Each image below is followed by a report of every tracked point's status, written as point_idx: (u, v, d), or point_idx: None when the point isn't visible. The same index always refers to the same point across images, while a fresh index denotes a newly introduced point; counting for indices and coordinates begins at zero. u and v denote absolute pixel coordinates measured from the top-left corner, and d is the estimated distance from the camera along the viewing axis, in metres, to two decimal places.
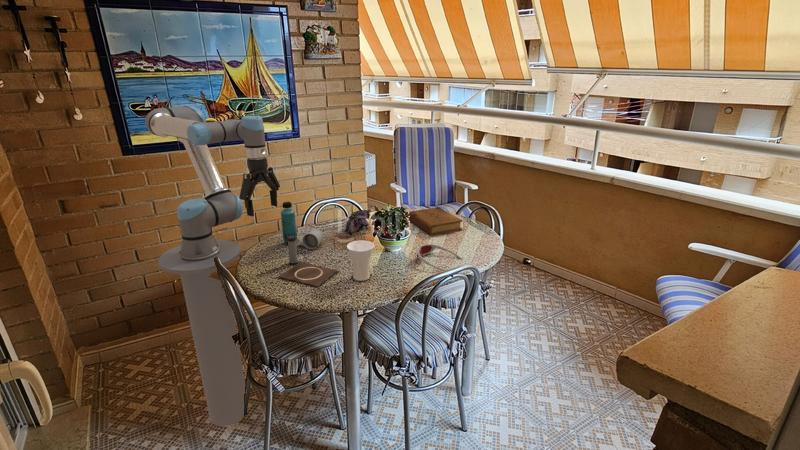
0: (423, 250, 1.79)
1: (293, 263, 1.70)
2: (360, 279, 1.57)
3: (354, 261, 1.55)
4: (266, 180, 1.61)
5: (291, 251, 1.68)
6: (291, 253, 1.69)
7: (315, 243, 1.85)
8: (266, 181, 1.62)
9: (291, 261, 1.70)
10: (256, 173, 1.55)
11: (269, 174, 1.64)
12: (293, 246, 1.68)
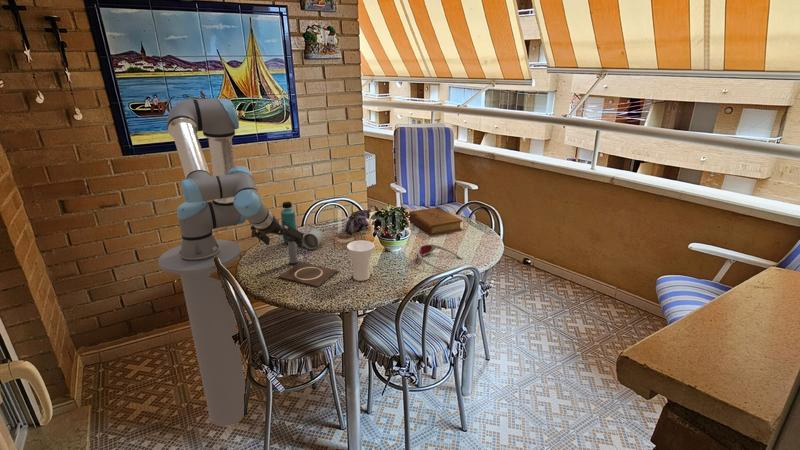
0: (423, 250, 1.79)
1: (293, 263, 1.70)
2: (360, 279, 1.57)
3: (354, 261, 1.55)
4: None
5: (291, 251, 1.68)
6: (291, 253, 1.69)
7: (315, 243, 1.85)
8: None
9: (291, 261, 1.70)
10: None
11: None
12: (293, 246, 1.68)
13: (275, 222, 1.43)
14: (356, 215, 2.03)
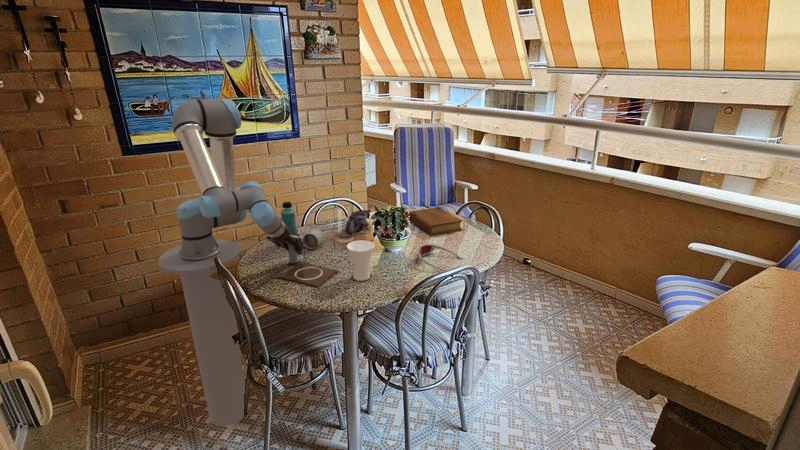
0: (423, 250, 1.79)
1: (293, 263, 1.70)
2: (360, 279, 1.57)
3: (354, 261, 1.55)
4: None
5: (291, 251, 1.68)
6: (291, 253, 1.69)
7: (315, 243, 1.85)
8: None
9: (291, 261, 1.70)
10: None
11: None
12: None
13: (287, 231, 1.54)
14: (356, 215, 2.03)
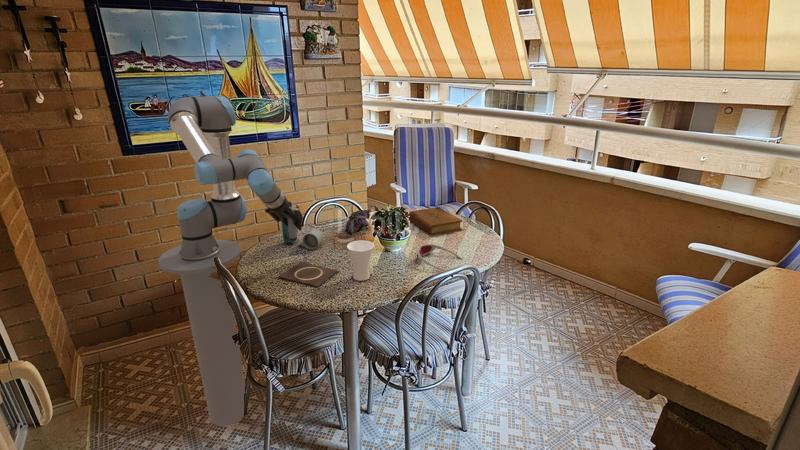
0: (423, 250, 1.79)
1: (293, 238, 1.64)
2: (360, 279, 1.57)
3: (354, 261, 1.55)
4: None
5: (291, 225, 1.62)
6: (290, 228, 1.63)
7: (315, 243, 1.85)
8: None
9: (290, 236, 1.64)
10: None
11: None
12: (293, 221, 1.62)
13: (286, 202, 1.49)
14: (356, 215, 2.03)
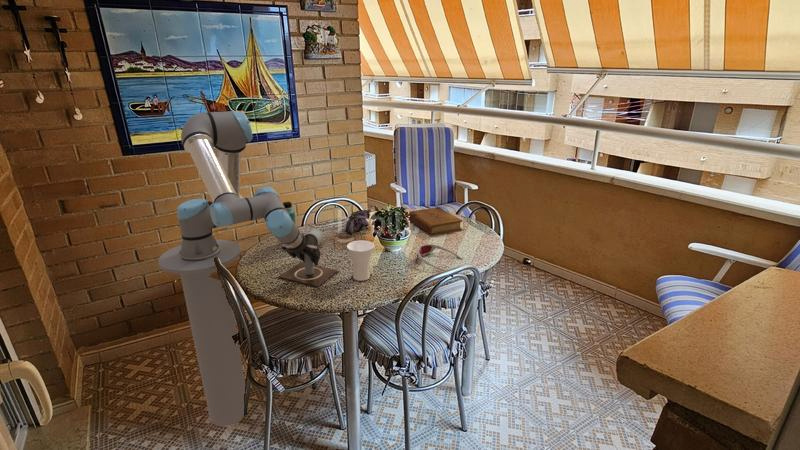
0: (423, 250, 1.79)
1: (309, 275, 1.57)
2: (360, 279, 1.57)
3: (354, 261, 1.55)
4: None
5: (308, 262, 1.55)
6: (307, 264, 1.56)
7: (315, 243, 1.85)
8: None
9: (307, 272, 1.57)
10: None
11: None
12: None
13: (304, 241, 1.42)
14: (356, 215, 2.03)
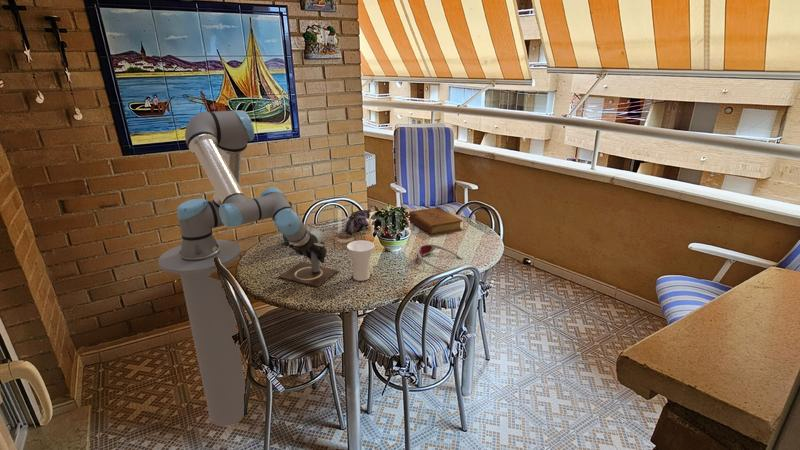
0: (423, 250, 1.79)
1: (315, 272, 1.61)
2: (360, 279, 1.57)
3: (354, 261, 1.55)
4: None
5: (314, 259, 1.59)
6: (313, 261, 1.59)
7: None
8: None
9: (313, 270, 1.61)
10: None
11: None
12: (316, 255, 1.59)
13: (311, 239, 1.45)
14: (356, 215, 2.03)
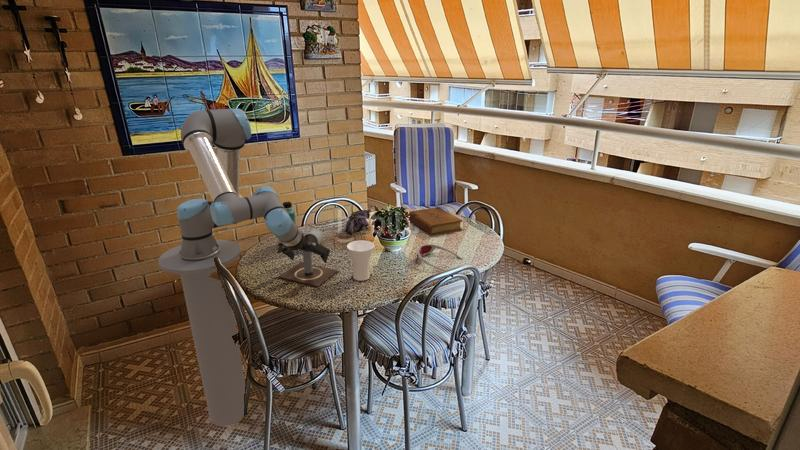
0: (423, 250, 1.79)
1: (308, 273, 1.60)
2: (360, 279, 1.57)
3: (354, 261, 1.55)
4: None
5: (306, 260, 1.58)
6: (306, 263, 1.59)
7: None
8: None
9: (306, 271, 1.60)
10: None
11: None
12: (309, 256, 1.58)
13: (303, 239, 1.44)
14: (356, 215, 2.03)
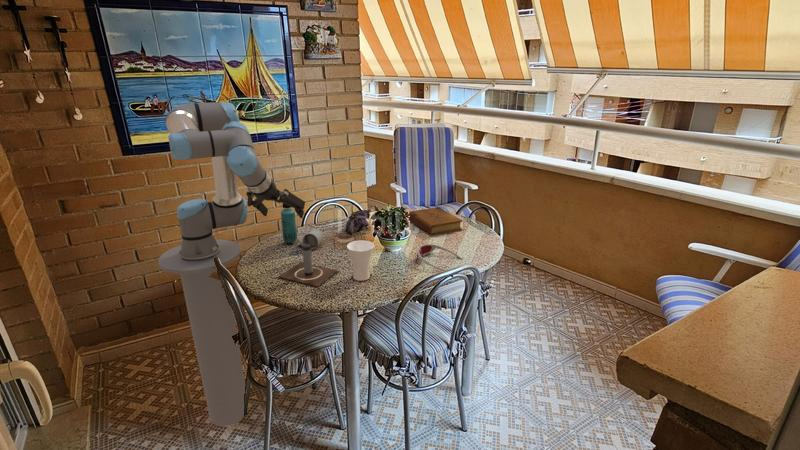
0: (423, 250, 1.79)
1: (308, 273, 1.60)
2: (360, 279, 1.57)
3: (354, 261, 1.55)
4: None
5: (306, 260, 1.58)
6: (306, 263, 1.59)
7: (315, 243, 1.85)
8: None
9: (306, 271, 1.60)
10: None
11: None
12: (309, 256, 1.58)
13: (274, 186, 1.29)
14: (356, 215, 2.03)
